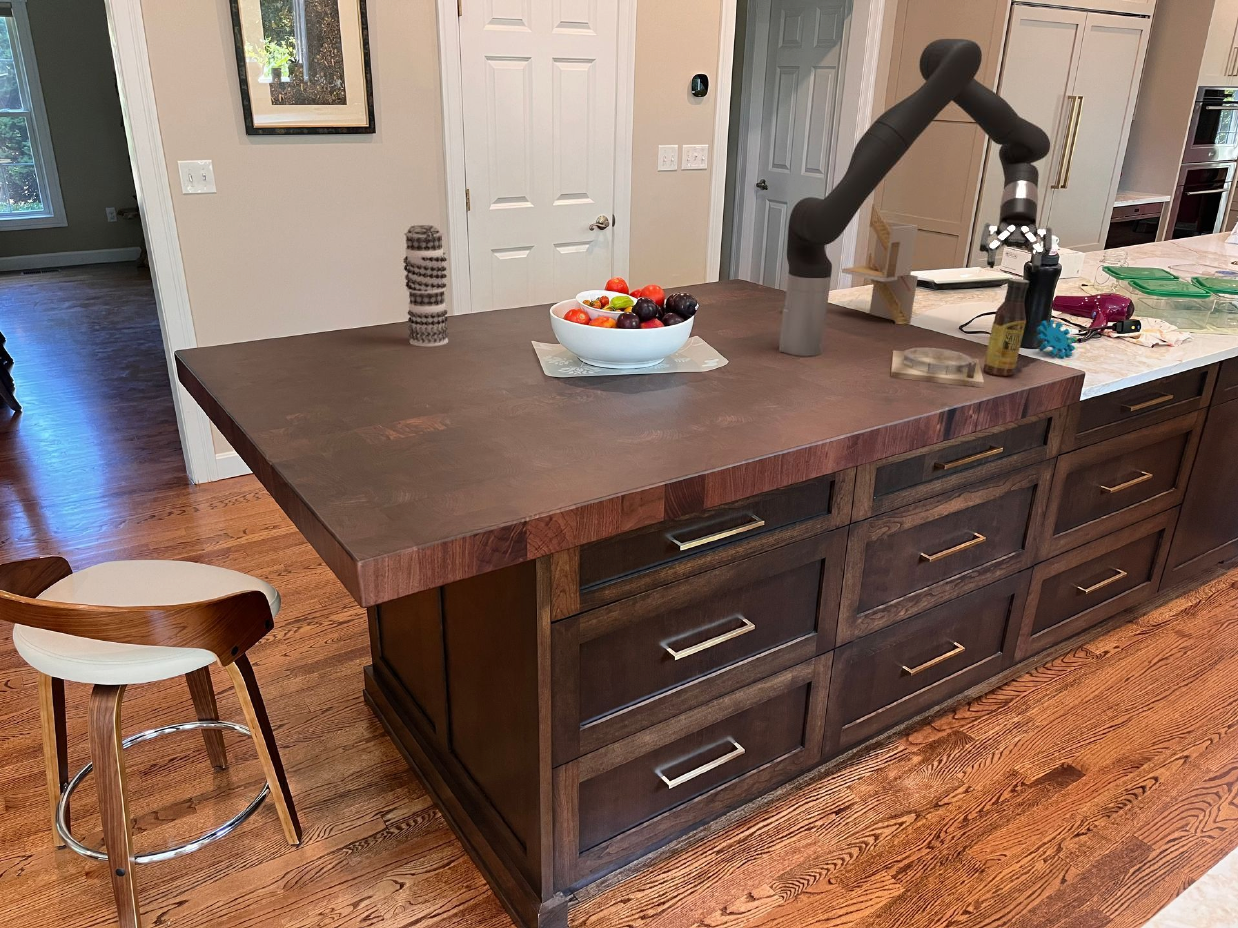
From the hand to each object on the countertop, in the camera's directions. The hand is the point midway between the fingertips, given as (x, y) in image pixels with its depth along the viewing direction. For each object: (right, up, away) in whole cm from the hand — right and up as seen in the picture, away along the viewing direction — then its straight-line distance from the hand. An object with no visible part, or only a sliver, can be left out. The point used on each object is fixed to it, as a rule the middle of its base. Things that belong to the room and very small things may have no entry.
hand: (1013, 267), depth 191 cm
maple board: (-17, -22, -2) cm, 28 cm away
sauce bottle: (-4, -23, -1) cm, 23 cm away
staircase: (-18, -5, +41) cm, 45 cm away
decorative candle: (-127, -15, +6) cm, 128 cm away
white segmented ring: (-17, -21, -2) cm, 28 cm away
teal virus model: (+16, -17, +15) cm, 28 cm away
